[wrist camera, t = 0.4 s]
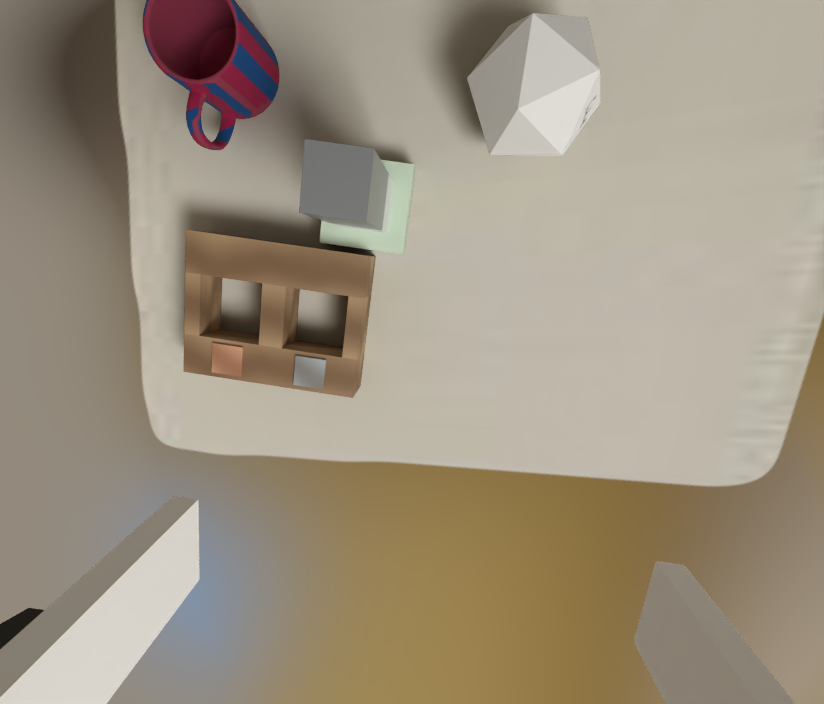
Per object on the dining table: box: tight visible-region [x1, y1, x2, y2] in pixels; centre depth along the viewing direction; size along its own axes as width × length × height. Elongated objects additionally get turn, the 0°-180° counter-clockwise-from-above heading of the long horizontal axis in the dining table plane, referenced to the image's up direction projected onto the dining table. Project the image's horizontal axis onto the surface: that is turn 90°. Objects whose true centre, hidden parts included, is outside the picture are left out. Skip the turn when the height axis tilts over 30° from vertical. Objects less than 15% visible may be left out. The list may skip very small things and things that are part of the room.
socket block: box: [184, 230, 375, 398], centre depth 36 cm, size 12×15×4 cm
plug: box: [299, 139, 393, 233], centre depth 29 cm, size 4×4×10 cm
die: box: [467, 13, 600, 156], centre depth 29 cm, size 8×9×10 cm
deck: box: [319, 160, 416, 255], centre depth 34 cm, size 7×7×2 cm
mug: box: [143, 0, 279, 150], centre depth 31 cm, size 7×10×7 cm
